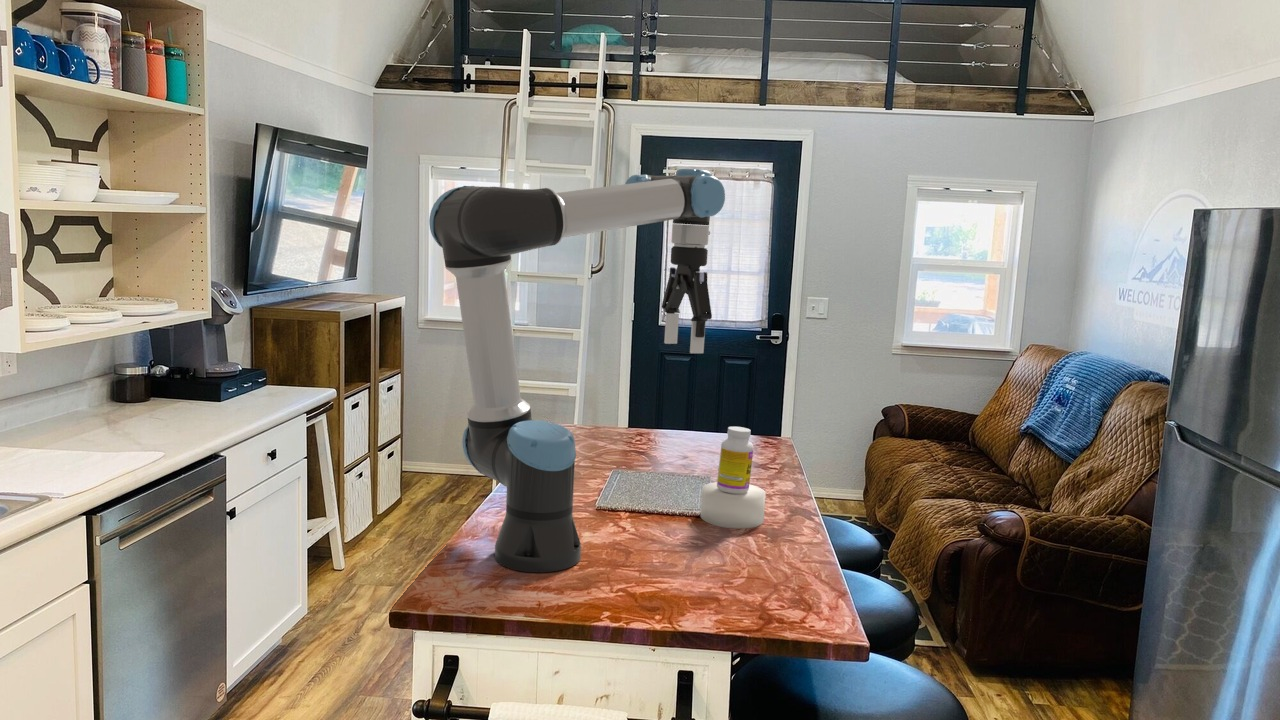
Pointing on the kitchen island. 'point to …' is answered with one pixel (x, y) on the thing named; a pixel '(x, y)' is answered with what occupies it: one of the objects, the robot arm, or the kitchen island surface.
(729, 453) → the supplement bottle
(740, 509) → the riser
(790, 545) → the kitchen island surface
